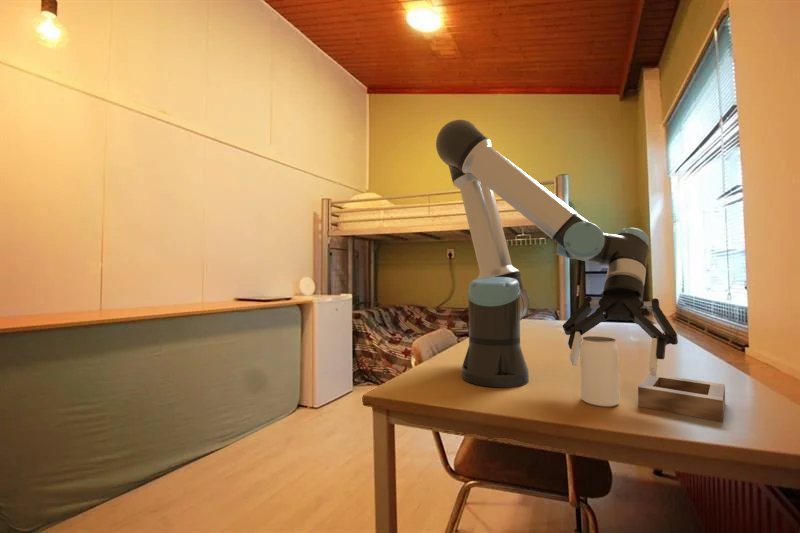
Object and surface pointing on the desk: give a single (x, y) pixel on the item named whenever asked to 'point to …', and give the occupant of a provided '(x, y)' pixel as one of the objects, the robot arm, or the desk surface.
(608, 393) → the can
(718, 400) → the holder
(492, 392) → the desk surface
